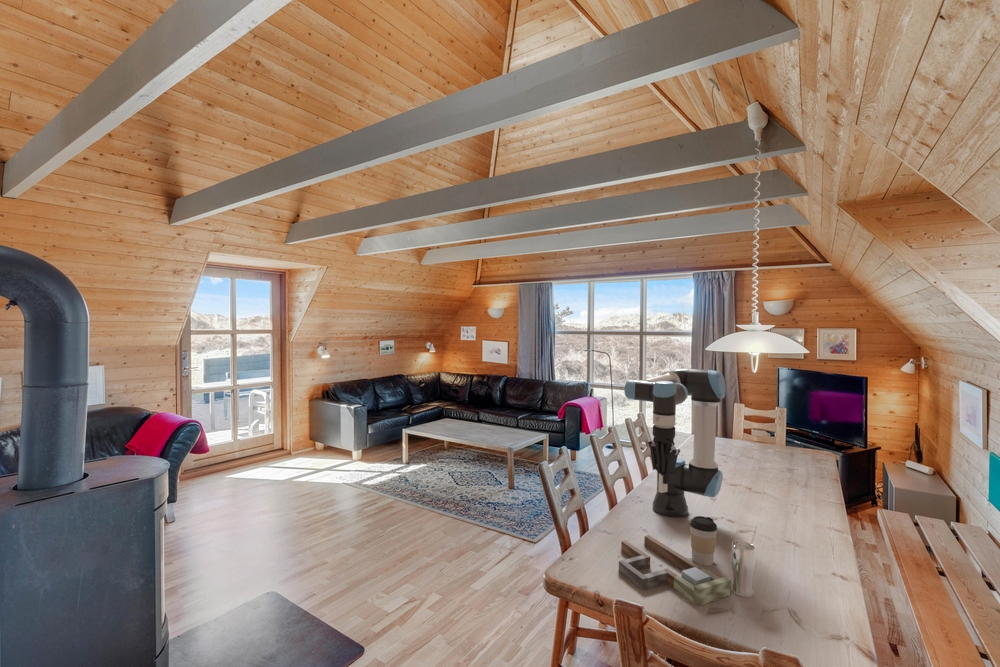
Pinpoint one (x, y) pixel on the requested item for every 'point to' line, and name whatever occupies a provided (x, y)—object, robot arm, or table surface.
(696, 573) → the block
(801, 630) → the table surface
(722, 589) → the corridor
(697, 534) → the coffee cup
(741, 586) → the beer glass
